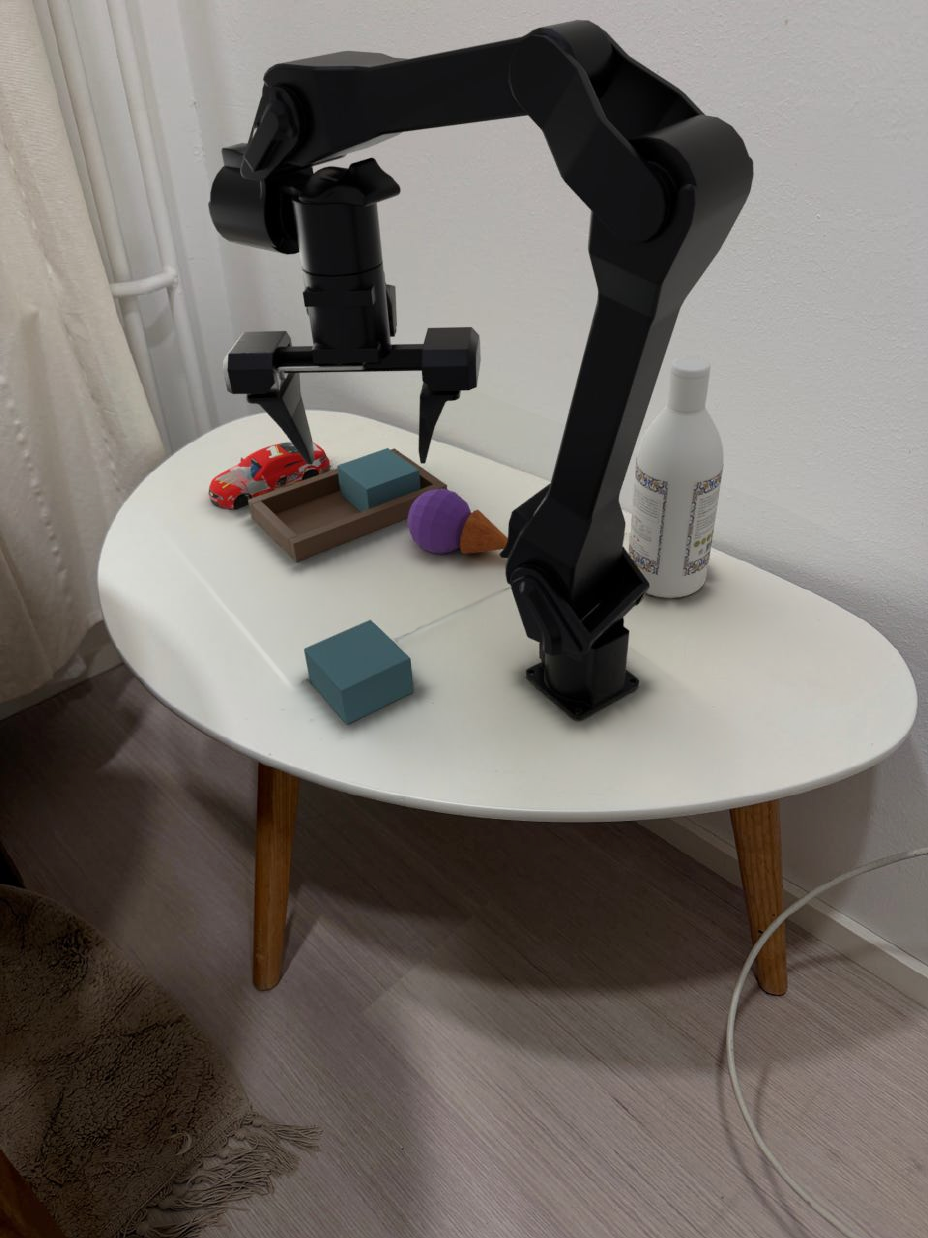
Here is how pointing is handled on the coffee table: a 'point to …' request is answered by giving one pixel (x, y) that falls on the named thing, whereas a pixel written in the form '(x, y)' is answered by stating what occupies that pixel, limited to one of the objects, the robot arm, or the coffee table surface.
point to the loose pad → (359, 671)
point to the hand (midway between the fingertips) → (367, 461)
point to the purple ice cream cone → (451, 525)
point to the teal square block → (377, 479)
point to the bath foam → (677, 486)
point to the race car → (265, 474)
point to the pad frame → (327, 513)
